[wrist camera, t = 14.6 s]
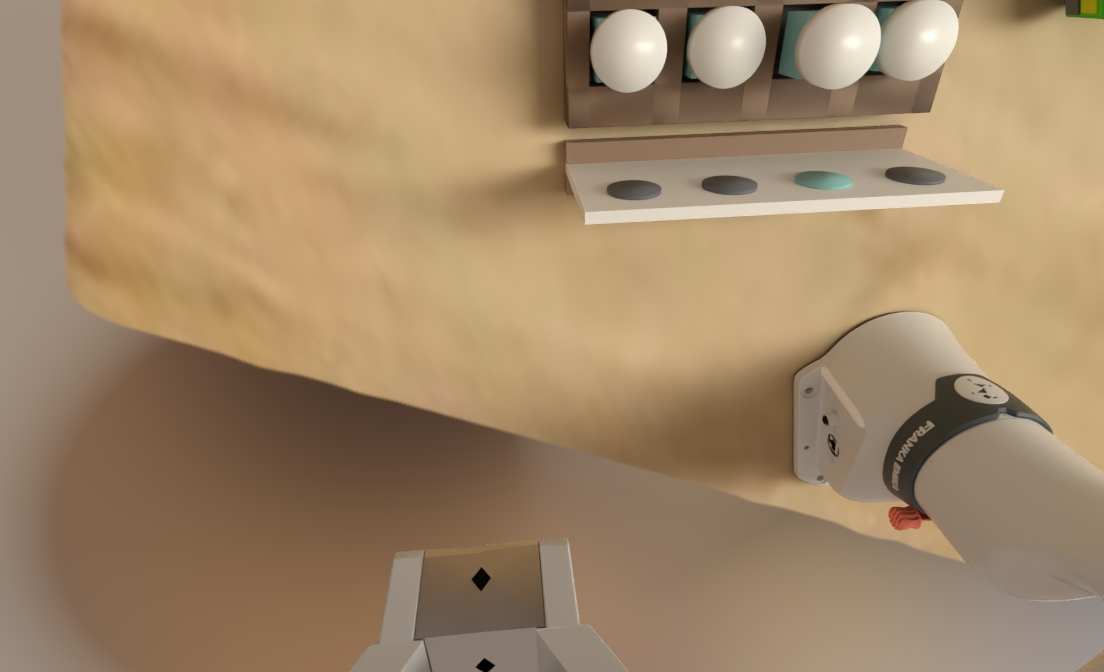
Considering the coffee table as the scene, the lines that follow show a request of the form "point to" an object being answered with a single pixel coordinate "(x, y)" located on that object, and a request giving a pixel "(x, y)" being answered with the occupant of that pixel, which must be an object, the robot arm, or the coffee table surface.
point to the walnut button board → (750, 100)
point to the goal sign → (759, 175)
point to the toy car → (1085, 8)
